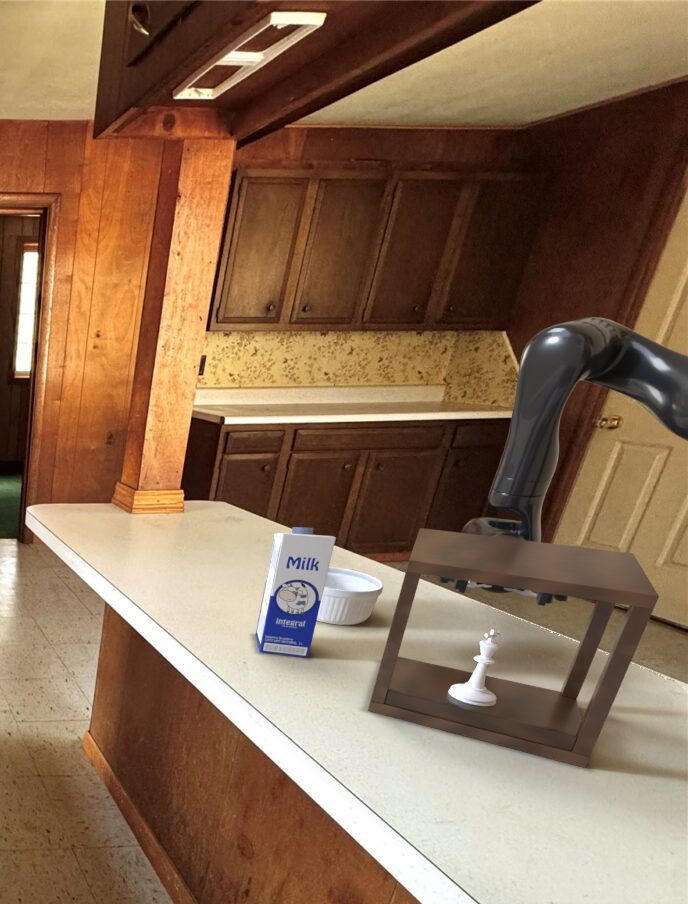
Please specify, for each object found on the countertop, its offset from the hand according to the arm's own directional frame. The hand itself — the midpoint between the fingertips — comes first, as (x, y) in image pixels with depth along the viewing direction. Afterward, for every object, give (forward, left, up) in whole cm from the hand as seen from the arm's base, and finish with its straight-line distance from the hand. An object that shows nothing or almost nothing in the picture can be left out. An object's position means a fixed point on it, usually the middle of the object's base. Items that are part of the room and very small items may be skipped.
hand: (502, 592), depth 93 cm
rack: (0, +13, -13) cm, 18 cm away
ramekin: (+20, -13, -13) cm, 28 cm away
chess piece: (+1, +13, -12) cm, 17 cm away
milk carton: (+24, +7, -13) cm, 29 cm away
